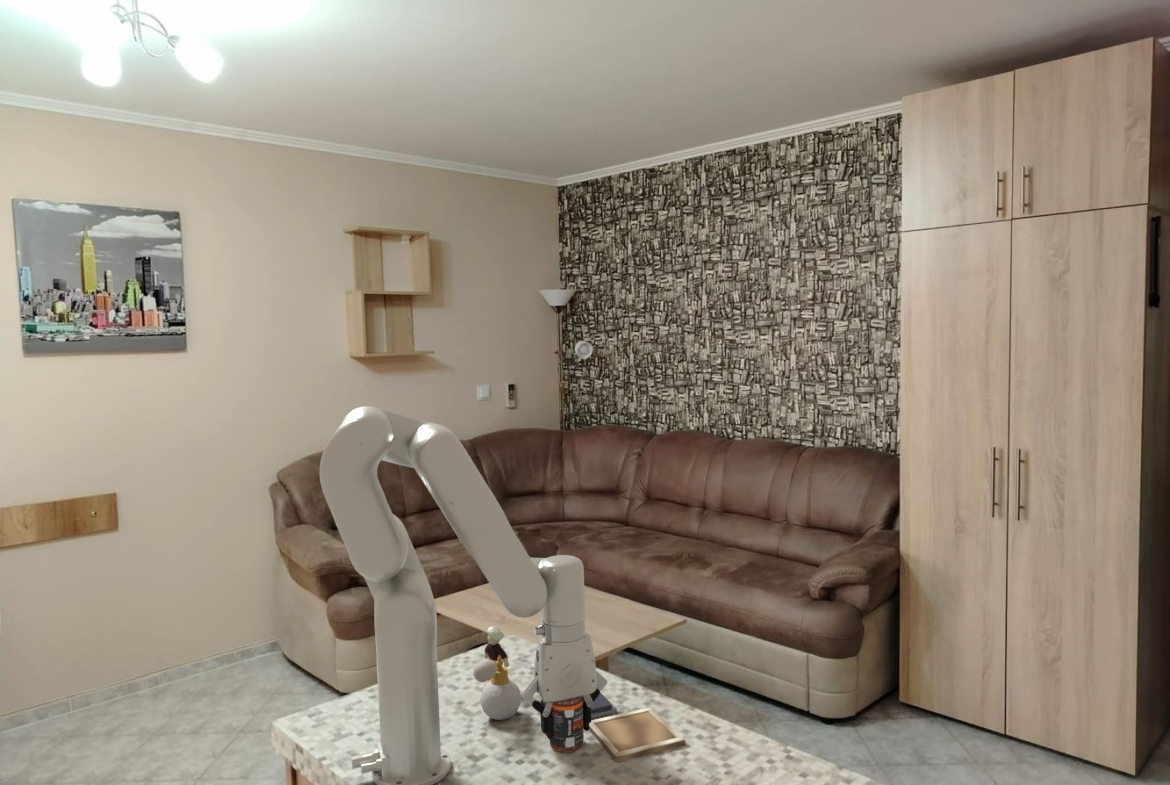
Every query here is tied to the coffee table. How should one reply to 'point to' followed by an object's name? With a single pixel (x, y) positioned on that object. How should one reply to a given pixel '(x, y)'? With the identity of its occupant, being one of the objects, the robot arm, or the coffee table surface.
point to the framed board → (635, 734)
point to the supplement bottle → (567, 725)
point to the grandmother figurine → (495, 647)
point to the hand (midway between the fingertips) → (566, 730)
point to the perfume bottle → (497, 690)
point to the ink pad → (602, 707)
